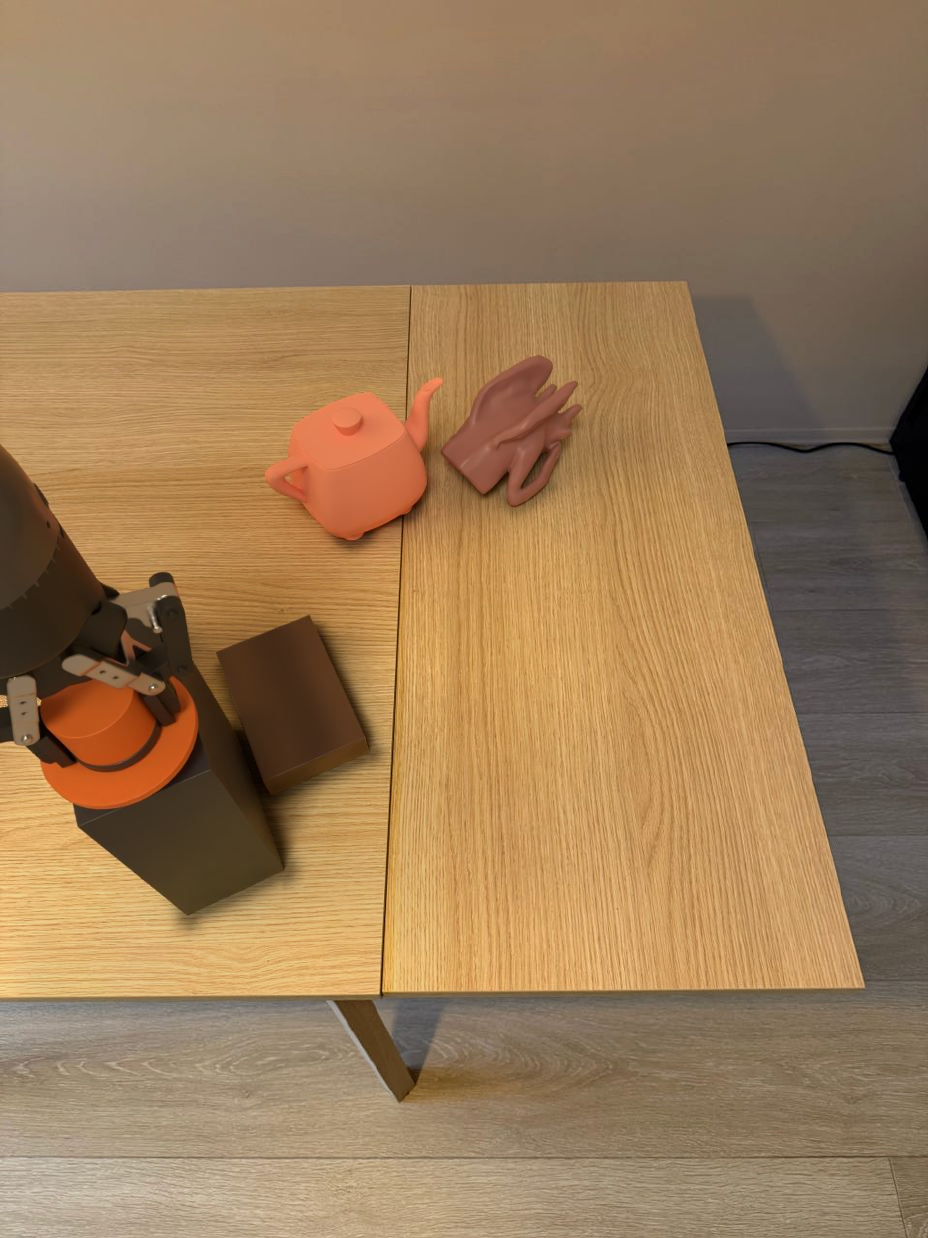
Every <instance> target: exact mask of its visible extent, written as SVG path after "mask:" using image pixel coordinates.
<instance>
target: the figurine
mask: <svg viewBox="0 0 928 1238" xmlns="http://www.w3.org/2000/svg"><path fill="white" fill-rule="evenodd" d="M553 369H554V364H553V361H551V360H550V359H549V358H547V357H545V356H543V355H541V354H536V355H533V356H529V357H527V358H524V359H523V360H521V361H520V362H517V363H516V364H514V365H512V366H511V367H509V368H507V369H505V370H503V371H502V372H500V373H499V374H497V375H496V376H495V377H494V378H492V379H490V380H489V381H488V382H486V383H485V384H484V385H483V386H482V387H481V388H480V389H479V390H478V392H477V394H476V396H475V398H474V400H473V403H472V404H471V405H472V406H471V409H470V413H469V416H468V417H466V421H465V422H463V424H462V425H461V426H460V427H459V428H458V429H457V431H456V432H455V433H454V434H453V435H451V436H450V437H449V438H448V440H447V441H446V442H445V444H444V445H443V446H442V447H441V448H440V449H439V452H440V455H441V456H442V458H444V459H445V460H446V461H447V462H448V463H450V464H451V466H453V467H454V468H455V469H456V470H457V471H458V472H459V473H460V474H461V475H462V476H463V477H465V479H467V480H468V481H469V483H471V484H472V485H473V487H474V488H475V489H476V490H477V491H478V492H479V493H480V494H482V495H484V494H487V493H488V492H489V491H490V490H491V489H493V488H494V487H495V486H496V485H497V483H499V481H500V480H502V478H503V477H504V476H505V475H506V474H507V473H508V478H507V482H506V500H507V503H508V504H509V505H510V506H513V507H516V506H519V505H521V504H523V503H525V502H526V501H528V500H530V499H531V498H533V496H535V495H536V494H537V493H538V492H539V491H541V490H542V489H543V488H544V487H545V486H547V484H548V483H549V478H550V476H551V474H552V472H553V470H554V468H555V466H556V463H557V462H558V460H559V458H560V455H561V452H562V446H561V442H560V440H562V439H564V438H567V437H570V436H571V435H572V434H573V429H571V428H570V427H571V425H572V422H573V421H574V420H575V418H576V417H577V415H578V414H579V413H580V412H581V411H582V409H583V406H582V405H581V404H579V403H575V404H573V405H571V406H569V407H568V408H567V409H565V410H563V411H562V412H560V411H561V410H562V409H563V408H564V407H565V405H566V404H567V403H568V402H569V400H570V398H571V396H572V395H573V394H574V392H575V390H576V388H578V385H579V382H578V381H577V380H572V381H569V382H567V383H565V384H564V385H562V386H561V387H560V388H559V389H558V390H557V388H558V386H557V384H555V383H551V384H550V385H548V387H547V388H545V389H544V390H543V391H542V392H541V393H540V395H538V396H535V395H537V393H538V392H539V391H540V390H541V389H542V388H543V387H544V386H545V384H546V383H547V382H548V380H549V379H550V377H551V375H552V373H553ZM546 453H548V454H547V456H546V458H545V460H544V462H543V463H542V465H541V467H540V470H539V472H538V474H537V475H536V476H535V478H533V480H532V481H530V483H528V484H526V485H525V486H524V487H523V488H522V485H523V483H524V482H525V480H526V478H527V477H528V475H529V474H530V473H531V471H532V469H533V467H534V465H535V463H536V462H537V461H538V458H539V457H540V455H541V454H546Z"/></svg>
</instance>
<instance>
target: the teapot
mask: <svg viewBox="0 0 928 1238" xmlns="http://www.w3.org/2000/svg"><path fill="white" fill-rule="evenodd" d="M443 382H444V379H443V378H442V377H435V378H433V379H431V380H429V381H427V382H425V384H423V385H422V386H421V387H420V389H419V390H418V391H417V393H416V395H415V397H414V399H413V403H412V407H411V410H410V413H409V415H408V417H407V418H406V420H405V421H404V422H402V420H400V419H399V417H398V416H397V415H396V413H394V411H393V410H392V409H391V408H390V407H389V406H388V405H387V404H386V403H385V402H384V401H383V400H381V398H379V397H378V396H377V395H375V394H374V393H372V392H361V393H357V394H353V395H350V396H347V397H343V398H341V399H338V400H336V401H334V402H331V403H328V404H326V405H324V406H322V407H319V409H316V410H315V411H313V412H311V413H310V414H308V415H306V416H304V417H303V418H302V419H300V420H299V421H298V422H297V423H295V424H294V425H293V427H292V429H291V433H290V437H289V443H288V449H287V457H286V458H284V459H282V460H280V461H277V462H275V463H274V464H272V465H271V466H269V467H267V469H266V471H265V473H264V480H265V482H266V484H267V485H268V486H269V487H270V488H271V489H272V490H273V491H275V492H276V493H278V494H280V495H282V496H285V497H288V498H291V499H293V500H296V501H299V502H301V504H302V505H303V506H304V508H305V509H306V510H307V512H309V514H310V515H311V517H313V518H314V519H315V520H316V522H317V523H318V524H319V525H320V526H321V527H322V528H323V529H324V530H326V532H328V533H329V534H331V535H333V536H334V537H337V538H344V539H345V540H348V541H355V540H359V539H360V538H361V537H363V535H364V534H365V533H366V532H368V531H371V530H374V529H376V528H378V527H381V526H383V525H385V524H387V523H389V522H391V521H392V520H394V519H396V518H397V517H399V516H403V515H407V514H408V513H410V512H411V510H412V509H413V506H414V505H415V504H416V503H417V502H418V501H419V500H420V498H421V497H422V496H423V494H424V492H425V490H426V488H427V484H428V476H427V475H428V474H427V470H426V466H425V463H424V459H423V456H422V454H421V452H422V451H423V449H424V447H425V446H426V443H427V441H428V438H429V432H430V418H429V417H430V405H431V401H432V398H433V396H434V395H435V393H436V392H437V390H438V389H439V388H440V387H441V386H442V384H443ZM288 475H289V479H290V482H289V481H288V480H287V479H286V477H287V476H288Z"/></svg>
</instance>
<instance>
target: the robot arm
mask: <svg viewBox="0 0 928 1238" xmlns="http://www.w3.org/2000/svg"><path fill="white" fill-rule="evenodd" d="M49 504H50V503H49V501H48V499H47V498H46V496H45V494H44V493H43V492H42V491H41V489H40V488H39V486H38V485H37V484H36V483H35V482H33V481H32V480H31V478H30V477H29V475H28V474H27V473H26V471H25V470H24V469H23V467H22V466H21V464H20V463H19V462H18V461H17V460H16V459H15V457H14V456H13V455H12V454H11V453H10V452H9V451H8V450H7V449H6V448H5V447H4V446H3V445H2V444H1V443H0V696H5V697H6V704H7V705H6V706H1V707H0V744H4V743H8V742H9V743H10V742H13V743H14V744H15V745H16V746H19V747H25V748H27V750H28V751H30V752H31V753H32V754H33V755H34V756H35V757H36V758H37V759H39V761H40V760H41V761H42V762H44V763H48V764H52V763H55V762H56V763H57V764H58V765H59V766H61V767H62V768H65V767H67V766H69V765H72V764H74V763H76V759H75V758H74V757H73V755H72V754H71V753H70V751H69V749H68V748H67V747H66V746H65V745H64V744H63V743H62V742H61V741H60V740H59V739H58V738H57V737H56V736H55V735H54V734H53V733H52V732H51V731H50V730H49V729H48V728H47V727H46V726H45V725H44V723H43V721H42V718H41V713H40V705H38V700H39V701H41V700H42V699H44V698H47V697H49V696H52V695H54V694H56V693H58V692H60V691H62V690H63V689H65V688H67V687H68V686H71V685H76V684H80V683H84V682H88V681H90V680H93V679H95V680H97V681H99V682H102V683H104V684H106V685H109V686H111V687H113V688H116V689H118V690H121V689H123V688H124V687H125V686H126V687H129V688H131V689H133V690H136V691H138V692H140V693H141V695H142V698H143V700H144V702H145V703H146V704H147V706H148V707H149V708H150V710H151V711H152V712H153V714H154V715H155V716H156V718H157V719H158V720H159V722H160V723H161V724H162V726H163V727H165V726H167V725H170V724H172V723H175V722H176V721H175V717H174V714H175V713H178V712H180V710H181V705H180V702H179V699H178V695H177V692H176V689H175V687H174V685H173V684H172V682H171V681H170V678H171V677H172V676H174V677H183V676H186V675H188V674H190V673H191V672H192V671H193V669H194V666H193V661H194V660H193V654H192V647H191V642H190V635H189V634H190V633H189V628H188V623H187V616H186V615H187V614H186V611H185V608H184V605H183V601H182V599H181V596H180V593H179V590H178V588H177V584H176V582H175V579H174V577H173V574H172V573H170V572H167V571H160V572H159V571H158V572H156V573H154V574H153V575H151V576H150V577H149V579H148V586H149V587H146V588H141V589H137V590H132V591H128V592H123V593H120V592H119V591H118V590H117V589H116V588H114V587H112V586H110V585H108V584H105V583H103V582H102V581H100V580H99V579H98V578H97V577H96V575H95V574H94V572H93V570H92V569H91V567H90V566H89V564H88V563H87V561H86V560H85V559H84V557H83V556H82V554H81V552H80V551H79V549H78V548H77V547H76V545H75V544H74V542H73V541H72V539H71V537H70V536H69V535H68V533H67V532H66V531H65V529H64V527H63V526H62V524H61V523H60V521H59V519H58V518H57V516H55V514H54V513H53V511H52V509H51V508H50V505H49ZM130 618H135V619H139V620H140V621H142V623H143V625H144V626H146V627H149V628H152V630H153V632H154V633H159V636H160V640H161V643H160V644H158V645H157V646H155V647H154V648H152V649H151V648H149V647H147V646H145V645H143V644H142V643H140V642H138V641H136V640H134V639H132V638H131V637H130V636H129V634H128V633H127V631H126V630H125V627H126V624H127V621H128V619H130Z"/></svg>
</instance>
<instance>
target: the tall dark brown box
mask: <svg viewBox="0 0 928 1238" xmlns="http://www.w3.org/2000/svg"><path fill="white" fill-rule="evenodd" d="M125 630H126V631H127V633H128V634H129V636H130V637H131V638H132V639H134V640H136V641H138V642H140V643H142V644H143V645H145V646H147V647H149V648H151V649H152V648H154V647H155V646H157V645H158V644H160V643H161V640H160V636H159V633H154V632H153V630H152V628H149V627H146V626H144V625H143V623H142V621H140V620H139V619H135V618H130V619H128V621H127V624H126V627H125ZM193 666H194V669H193V671H192V672H191V673H190V674H188V675H186V676H183V677H175V678H176V679H177V680H178V681H180V682H181V683H182V684H183V686H184V687H185V688H186V689H187V691H188V692H189V694H190V695H191V697H192V699H193V701H194V703H195V706H196V709H197V714H198V732H197V737H196V741H195V744H194V747H193V750H192V752H191V754H190V756H189V758H188V760H187V761H186V763H185V764H184V766H183V767H182V768H181V770H180V771H179V772H178V773H177V774H176V776H175V777H174V778H173V779H172V780H171V781H170V782H169V783H167V784H166V785H165V786H164V787H162V788H161V789H160V790H159V791H157V792H155V793H154V794H152V795H151V796H149V797H147V798H145V799H143V800H141V801H139V802H136V803H133V804H131V805H127V806H123V807H119V808H113V809H91V808H85V807H82V806H78V805H76V804H73V803H72V807H73V812H74V817H75V822H76V827H77V828H78V829H79V830H81V831H82V832H83V833H84V834H86V835H87V836H88V837H89V838H91V839H92V840H93V841H94V842H95V843H97V844H98V845H99V846H100V847H102V848H103V849H104V850H105V851H107V852H108V853H109V854H110V855H111V856H113V857H114V858H115V859H116V860H118V861H119V862H120V863H121V864H122V865H124V866H125V867H126V868H128V869H129V870H130V871H131V872H132V873H134V874H135V875H136V876H137V877H139V878H140V879H142V880H143V881H144V883H146V884H147V885H148V886H150V887H151V888H152V889H154V890H155V891H156V892H157V893H158V894H159V895H161V896H162V897H163V898H165V899H166V900H167V901H169V902H170V903H171V904H172V905H173V906H174V907H176V908H177V909H178V910H179V911H181V912H182V913H183V914H184V915H185V916H190V915H191V914H194V913H196V912H198V911H200V910H202V909H205V908H207V907H208V906H211V905H213V904H215V903H217V902H220V901H221V900H224V899H226V898H229V897H230V896H233V895H234V894H237V893H239V892H241V891H244V890H245V889H248V888H250V887H252V886H254V885H256V884H258V883H260V882H263V881H264V880H268V879H269V878H271V877H274V876H275V875H277V874H280V873H282V872H284V871H285V868H284V865H283V862H282V860H281V857H280V854H279V851H278V848H277V846H276V843H275V840H274V837H273V834H272V832H271V828H270V826H269V823H268V820H267V817H266V814H265V812H264V809H263V806H262V803H261V800H260V798H259V794H258V791H257V790H256V787H255V784H254V781H253V777H252V774H251V772H250V769H249V766H248V764H247V761H246V759H245V756H244V752H243V750H242V746H241V744H240V741H239V738H238V736H237V733H236V730H235V728H234V726H233V724H232V723H231V721H230V719H229V718H228V716H227V715H226V713H225V711H224V710H223V708H222V706H221V704H220V703H219V701H218V700H217V698H216V696H215V695H214V693H213V692H212V689H211V688H210V686H209V685H208V683H207V681H206V679H205V678H204V676H203V675H202V673H201V671H200V670H199V668H198V666H197V665H196V663H195V661H194V660H193ZM173 677H174V676H173Z"/></svg>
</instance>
